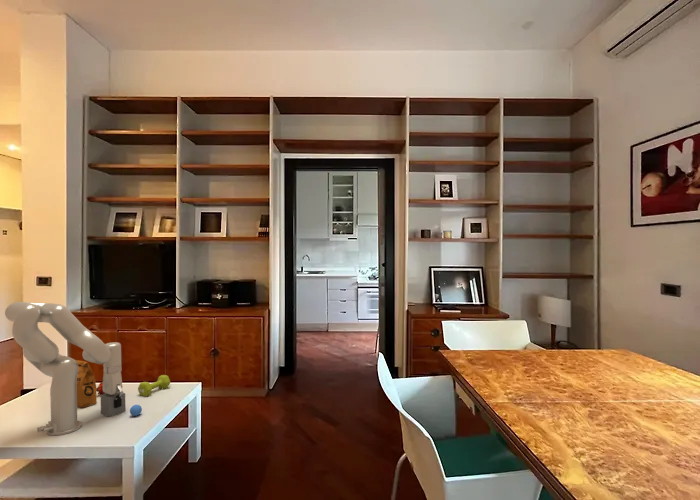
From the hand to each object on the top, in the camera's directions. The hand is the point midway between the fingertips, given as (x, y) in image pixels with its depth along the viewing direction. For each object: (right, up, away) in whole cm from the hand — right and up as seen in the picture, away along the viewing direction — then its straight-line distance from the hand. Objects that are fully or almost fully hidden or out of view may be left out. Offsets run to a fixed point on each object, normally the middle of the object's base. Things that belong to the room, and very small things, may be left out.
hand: (113, 405), depth 198 cm
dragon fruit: (-18, -4, +25) cm, 31 cm away
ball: (+13, -1, -4) cm, 14 cm away
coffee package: (-22, -4, +11) cm, 24 cm away
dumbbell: (+6, -4, +28) cm, 29 cm away
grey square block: (0, -4, 0) cm, 4 cm away
